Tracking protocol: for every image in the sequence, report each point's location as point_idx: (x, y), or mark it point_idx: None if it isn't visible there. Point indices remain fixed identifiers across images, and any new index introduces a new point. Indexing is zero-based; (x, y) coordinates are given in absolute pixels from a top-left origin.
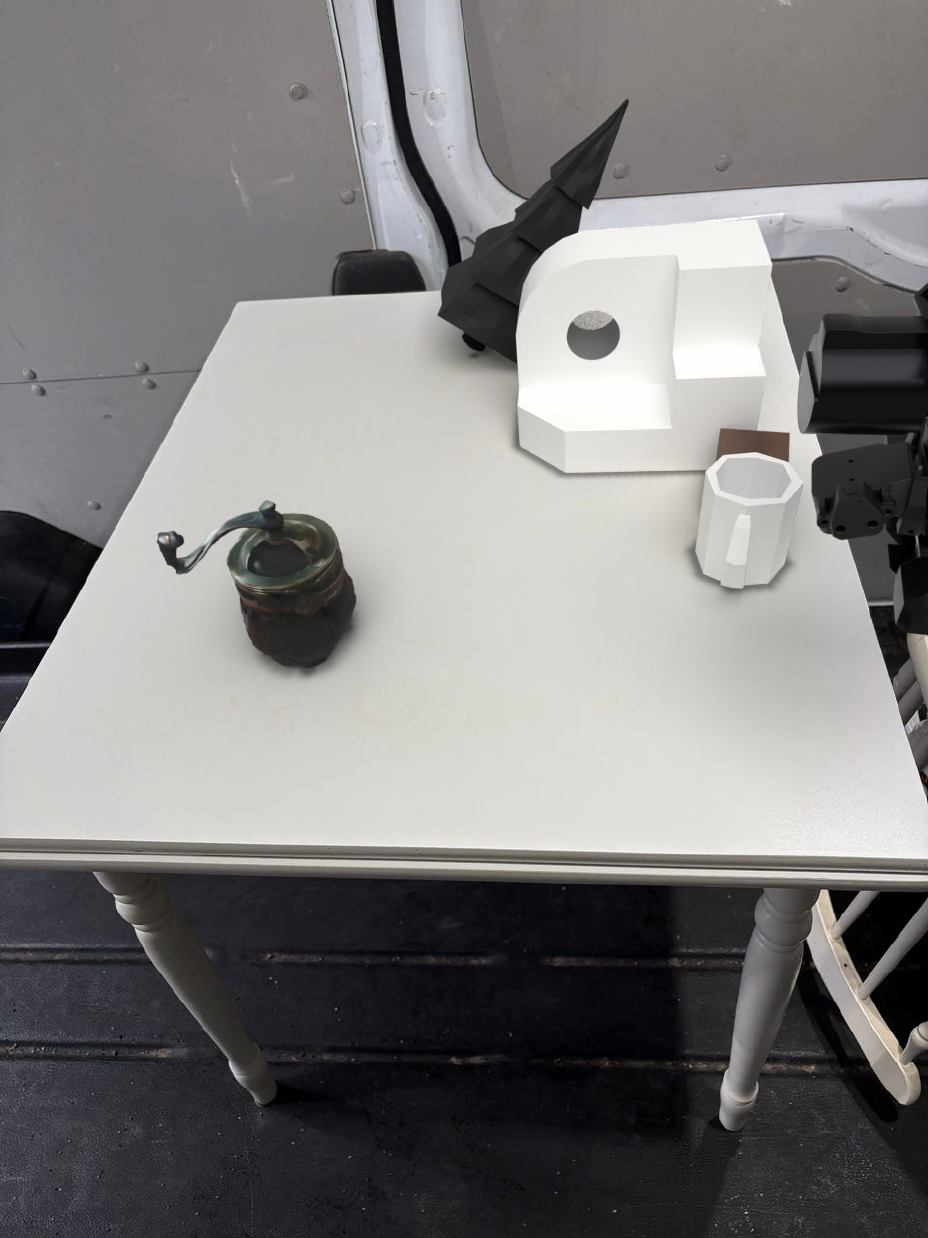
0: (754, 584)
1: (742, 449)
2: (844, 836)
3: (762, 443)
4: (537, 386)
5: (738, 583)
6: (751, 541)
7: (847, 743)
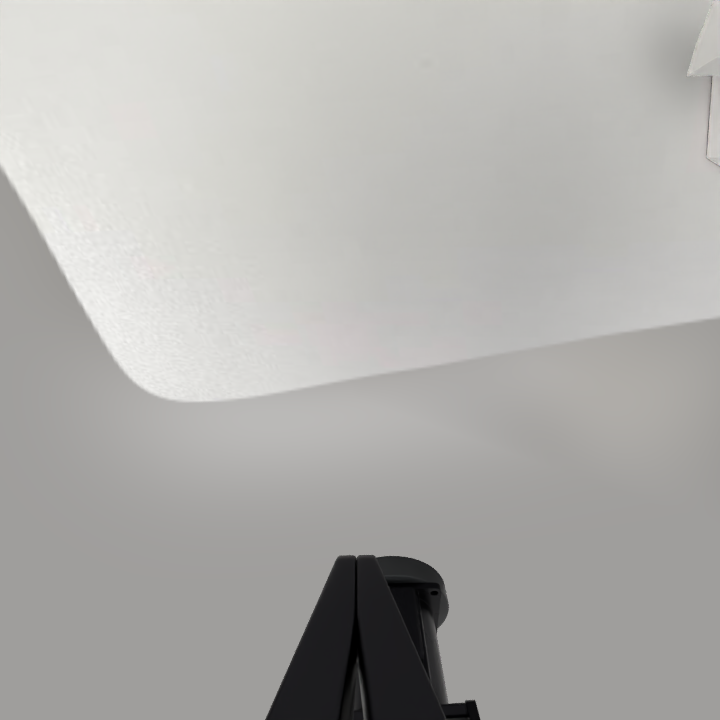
0: (709, 122)
1: None
2: (116, 314)
3: None
4: None
5: (705, 50)
6: None
7: (293, 319)
